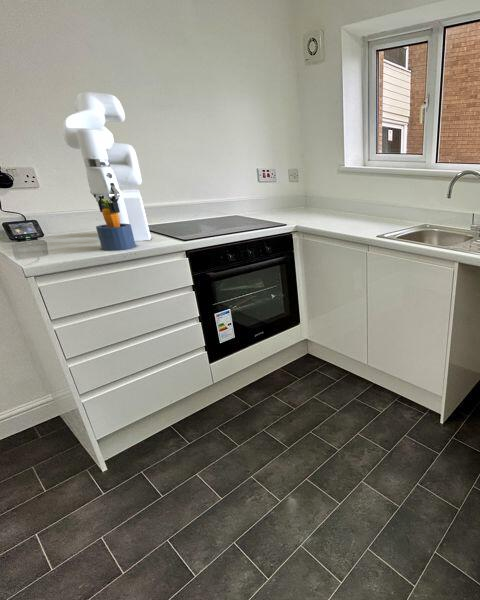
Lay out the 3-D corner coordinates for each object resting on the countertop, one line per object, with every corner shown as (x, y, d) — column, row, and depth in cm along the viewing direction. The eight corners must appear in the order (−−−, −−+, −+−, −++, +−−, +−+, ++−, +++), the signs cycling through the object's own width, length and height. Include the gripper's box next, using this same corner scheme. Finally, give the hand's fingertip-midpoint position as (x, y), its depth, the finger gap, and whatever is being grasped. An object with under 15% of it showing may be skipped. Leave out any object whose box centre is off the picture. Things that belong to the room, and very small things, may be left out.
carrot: (127, 235, 147) (117, 198, 141) (117, 237, 142) (106, 199, 137) (116, 234, 147) (106, 197, 142) (105, 236, 143) (95, 198, 137)
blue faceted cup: (122, 243, 153) (117, 222, 149) (142, 246, 150) (137, 224, 146) (95, 248, 143) (88, 226, 139) (115, 251, 140) (109, 229, 136)
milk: (149, 240, 160) (138, 190, 152) (133, 241, 157) (121, 190, 149) (151, 237, 165) (140, 189, 157) (135, 238, 162) (123, 189, 154)
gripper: (123, 165, 135) (135, 212, 142) (92, 163, 140) (104, 209, 147) (103, 165, 129) (116, 215, 136) (70, 163, 133) (84, 211, 140)
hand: (110, 211), depth 141 cm, fingers closed on carrot, 4 cm apart
